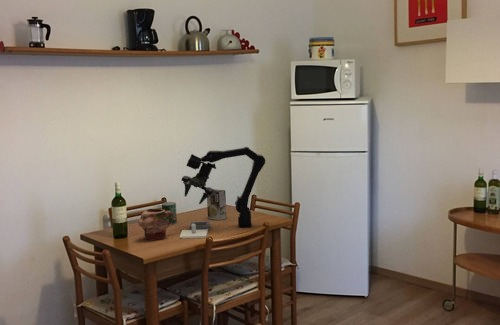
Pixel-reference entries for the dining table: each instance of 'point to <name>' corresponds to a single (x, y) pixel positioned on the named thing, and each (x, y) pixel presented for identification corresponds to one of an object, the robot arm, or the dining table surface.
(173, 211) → the canned tomato
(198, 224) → the grey square frame
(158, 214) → the decorative planter
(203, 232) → the post stand
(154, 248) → the dining table surface
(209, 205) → the coffee box
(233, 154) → the robot arm
